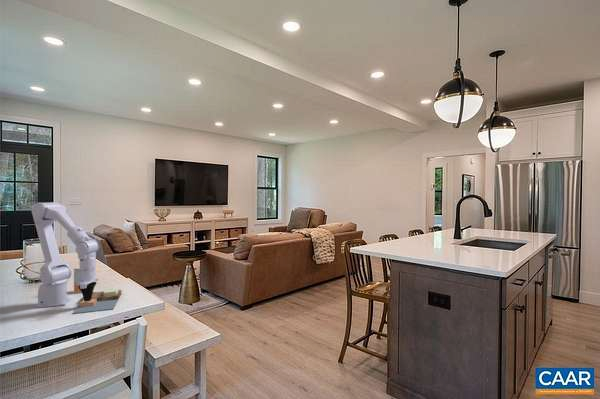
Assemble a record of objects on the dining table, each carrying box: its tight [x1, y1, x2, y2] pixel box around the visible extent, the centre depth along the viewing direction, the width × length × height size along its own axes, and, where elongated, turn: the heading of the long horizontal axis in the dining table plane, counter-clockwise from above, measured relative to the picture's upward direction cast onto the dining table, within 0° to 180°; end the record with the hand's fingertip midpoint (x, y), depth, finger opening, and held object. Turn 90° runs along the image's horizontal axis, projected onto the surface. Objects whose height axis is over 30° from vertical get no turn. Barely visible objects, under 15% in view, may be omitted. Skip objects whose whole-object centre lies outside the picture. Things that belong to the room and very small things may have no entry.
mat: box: [72, 299, 119, 315], centre depth 132 cm, size 14×12×1 cm
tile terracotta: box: [79, 298, 97, 307], centre depth 133 cm, size 5×5×2 cm
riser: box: [80, 289, 122, 303], centre depth 142 cm, size 14×9×2 cm, turn 112°
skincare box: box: [73, 266, 82, 294], centre depth 151 cm, size 6×4×12 cm
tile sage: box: [103, 287, 119, 296], centre depth 142 cm, size 5×5×2 cm
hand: (87, 300), depth 131 cm, fingers closed
